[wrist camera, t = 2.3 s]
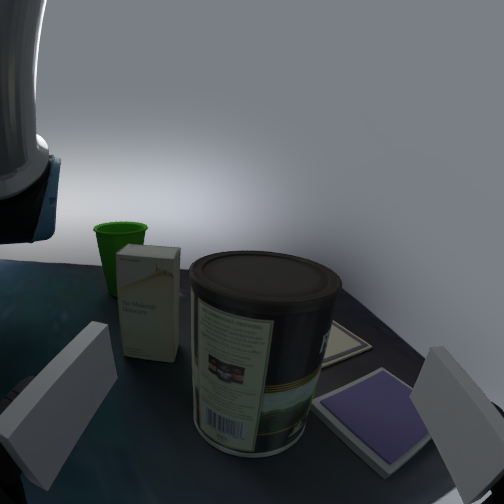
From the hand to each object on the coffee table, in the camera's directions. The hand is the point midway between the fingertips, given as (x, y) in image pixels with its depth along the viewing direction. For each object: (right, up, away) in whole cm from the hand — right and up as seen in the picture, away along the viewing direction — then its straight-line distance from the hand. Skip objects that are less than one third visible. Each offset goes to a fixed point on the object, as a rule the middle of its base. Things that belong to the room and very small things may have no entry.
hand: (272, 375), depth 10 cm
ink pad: (+12, -11, +13) cm, 21 cm away
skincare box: (-12, -7, +21) cm, 26 cm away
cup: (-22, -2, +36) cm, 42 cm away
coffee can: (-1, -10, +13) cm, 17 cm away
